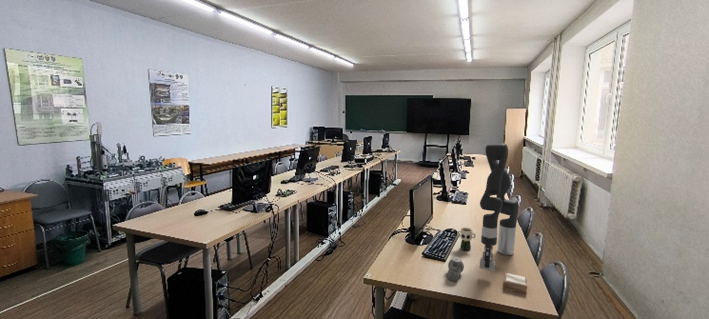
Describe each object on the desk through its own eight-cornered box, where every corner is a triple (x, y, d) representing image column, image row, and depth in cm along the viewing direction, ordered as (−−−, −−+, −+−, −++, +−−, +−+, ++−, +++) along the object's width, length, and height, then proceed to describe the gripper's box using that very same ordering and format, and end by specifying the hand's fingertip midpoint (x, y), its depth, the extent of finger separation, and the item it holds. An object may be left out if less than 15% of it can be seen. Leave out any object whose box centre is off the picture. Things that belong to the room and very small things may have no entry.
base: (504, 279, 171) (505, 272, 170) (526, 284, 166) (526, 276, 166) (503, 288, 162) (504, 280, 161) (526, 294, 157) (527, 285, 157)
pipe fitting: (448, 268, 181) (450, 252, 178) (463, 273, 178) (465, 256, 175) (443, 281, 171) (445, 263, 168) (459, 286, 167) (461, 268, 164)
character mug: (455, 249, 208) (456, 229, 206) (457, 245, 214) (458, 226, 212) (474, 252, 203) (475, 232, 202) (474, 248, 210) (476, 229, 208)
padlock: (495, 268, 172) (496, 250, 171) (493, 272, 169) (494, 253, 167) (480, 265, 176) (481, 247, 174) (479, 268, 173) (480, 250, 171)
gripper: (482, 228, 177) (481, 258, 180) (480, 238, 165) (478, 270, 168) (498, 231, 174) (495, 261, 177) (496, 240, 162) (494, 273, 164)
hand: (487, 265), depth 172 cm, fingers closed on padlock, 4 cm apart
